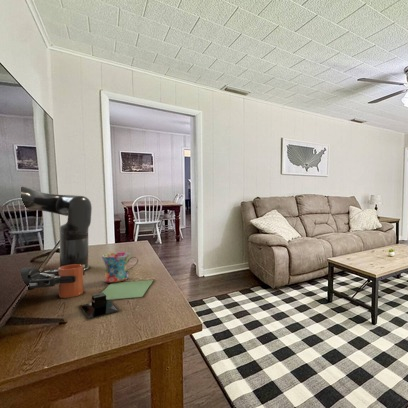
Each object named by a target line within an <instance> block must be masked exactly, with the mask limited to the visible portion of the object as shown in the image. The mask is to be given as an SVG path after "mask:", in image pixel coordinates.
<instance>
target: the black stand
mask: <svg viewBox="0 0 408 408" xmlns="http://www.w3.org/2000/svg"><path fill="white" fill-rule="evenodd" d="M80 309H82V311H83V312H84V314H85V316H86V318H87V319H88V320H90V319H95V318H98V317H103V316H106V315H110V314H115V313H118V312H119V310H118V309H117V308H116V307H115V306H114V305H113V303H112V302H111V300H108V299H107V300H106V295H105V294H104V293H101V292H98V293H94V294H91V302H90V303H85V304H81V305H80Z"/></svg>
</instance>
